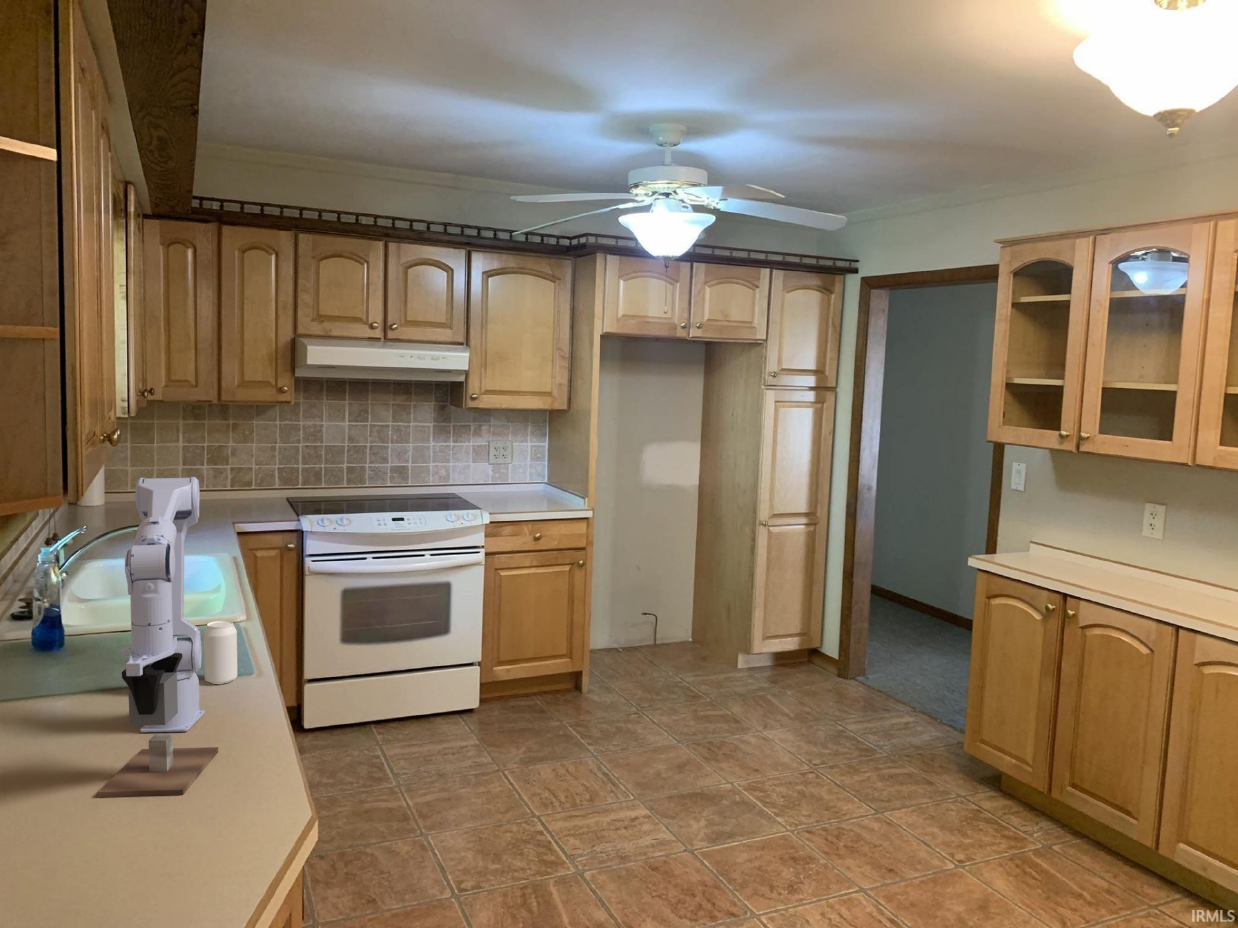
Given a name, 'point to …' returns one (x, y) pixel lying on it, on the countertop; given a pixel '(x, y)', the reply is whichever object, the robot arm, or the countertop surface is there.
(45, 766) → the countertop surface
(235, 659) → the beverage can
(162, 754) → the flat brown plate
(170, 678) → the gray rectangular prism
